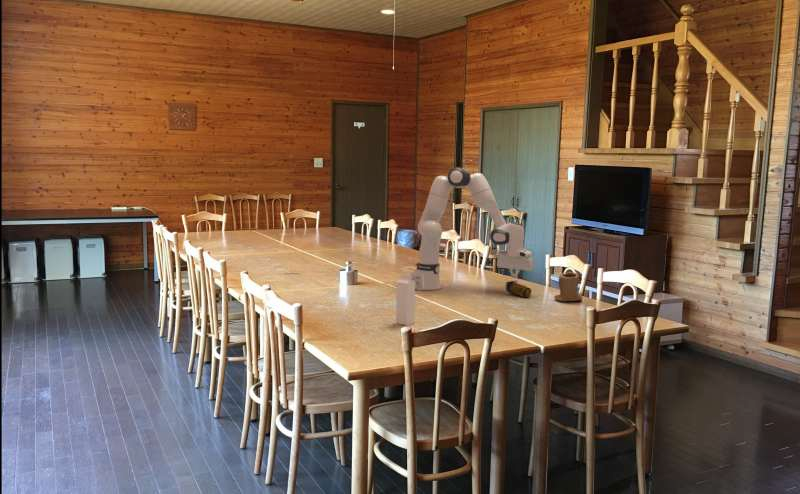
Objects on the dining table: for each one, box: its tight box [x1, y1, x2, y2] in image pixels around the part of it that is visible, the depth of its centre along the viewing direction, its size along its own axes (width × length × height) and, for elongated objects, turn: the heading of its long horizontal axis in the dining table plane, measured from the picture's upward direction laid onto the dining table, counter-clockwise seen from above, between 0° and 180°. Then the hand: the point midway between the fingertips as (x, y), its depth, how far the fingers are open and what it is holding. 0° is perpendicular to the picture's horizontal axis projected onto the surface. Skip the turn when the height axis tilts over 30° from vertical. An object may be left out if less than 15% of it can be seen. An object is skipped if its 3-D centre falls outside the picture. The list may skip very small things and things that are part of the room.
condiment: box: [504, 280, 532, 298], centre depth 354 cm, size 7×8×12 cm
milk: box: [395, 273, 416, 326], centre depth 294 cm, size 6×6×22 cm
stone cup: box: [554, 271, 584, 302], centre depth 344 cm, size 15×12×15 cm
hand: (514, 277), depth 359 cm, fingers closed
